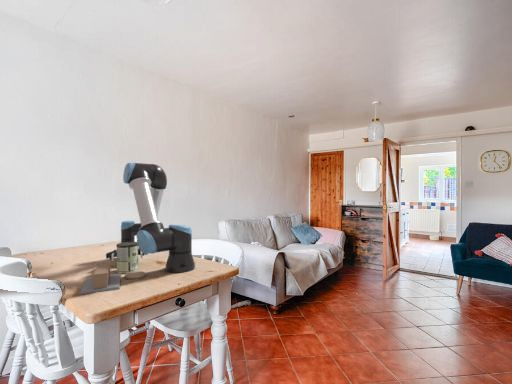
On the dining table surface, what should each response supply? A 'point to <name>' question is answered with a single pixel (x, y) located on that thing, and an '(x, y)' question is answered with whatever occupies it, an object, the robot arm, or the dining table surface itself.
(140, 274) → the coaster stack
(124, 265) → the coffee can
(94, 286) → the fulcrum board
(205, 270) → the dining table surface
